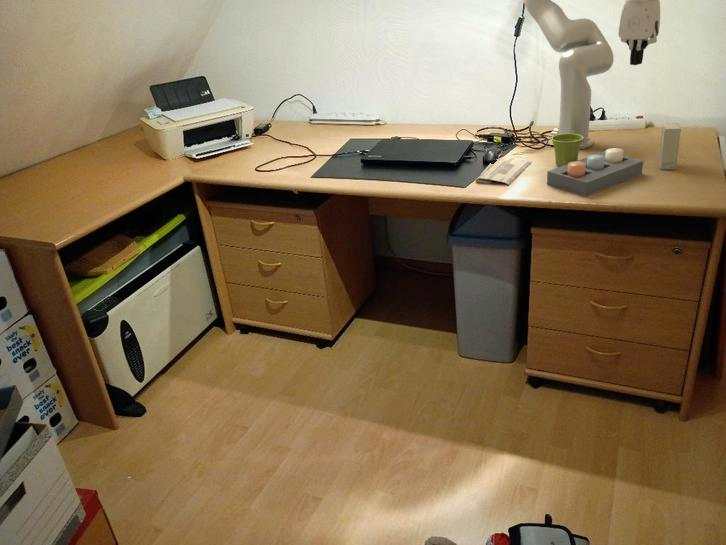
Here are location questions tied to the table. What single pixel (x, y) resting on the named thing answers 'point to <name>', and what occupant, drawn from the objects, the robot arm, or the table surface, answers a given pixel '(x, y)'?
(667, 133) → the skincare box
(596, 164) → the pale blue egg
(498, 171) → the newspaper
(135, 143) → the table surface
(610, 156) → the cream white egg
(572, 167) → the light brown oval
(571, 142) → the plant pot
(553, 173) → the grey egg holder
